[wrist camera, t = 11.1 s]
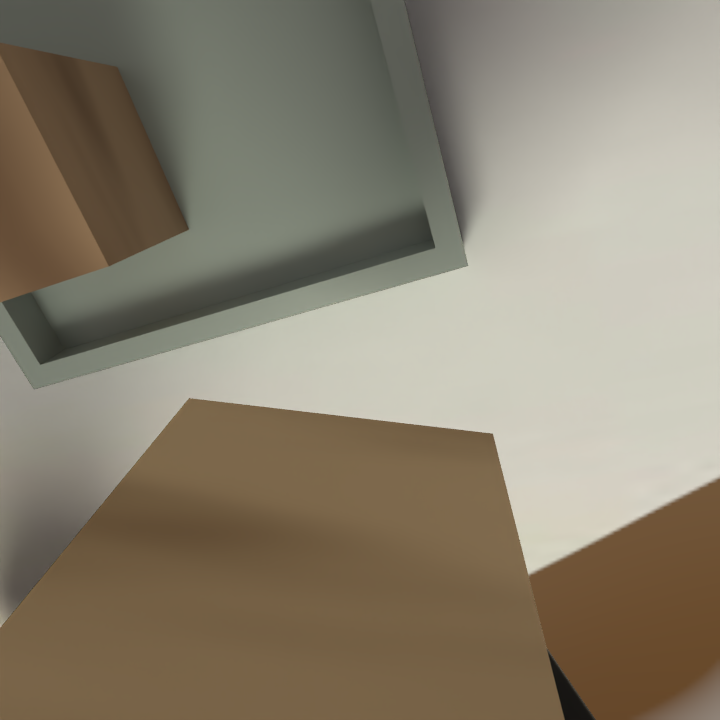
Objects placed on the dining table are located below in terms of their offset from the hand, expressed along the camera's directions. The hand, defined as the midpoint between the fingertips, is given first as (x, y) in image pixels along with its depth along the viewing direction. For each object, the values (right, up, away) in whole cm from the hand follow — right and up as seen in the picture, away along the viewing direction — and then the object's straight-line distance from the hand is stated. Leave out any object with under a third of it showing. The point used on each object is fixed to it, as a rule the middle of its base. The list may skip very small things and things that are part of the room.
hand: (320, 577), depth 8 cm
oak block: (0, 0, +1) cm, 1 cm away
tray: (-6, +11, +8) cm, 15 cm away
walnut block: (-8, +10, +8) cm, 15 cm away
